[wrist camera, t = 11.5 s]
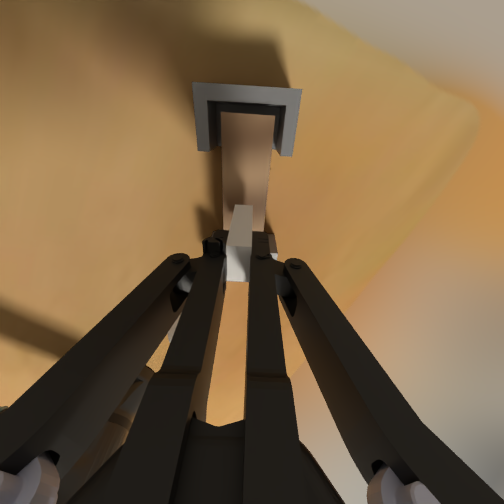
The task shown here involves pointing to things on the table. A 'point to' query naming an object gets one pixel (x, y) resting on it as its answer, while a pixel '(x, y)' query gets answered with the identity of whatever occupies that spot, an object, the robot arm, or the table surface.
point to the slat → (246, 164)
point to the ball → (173, 329)
